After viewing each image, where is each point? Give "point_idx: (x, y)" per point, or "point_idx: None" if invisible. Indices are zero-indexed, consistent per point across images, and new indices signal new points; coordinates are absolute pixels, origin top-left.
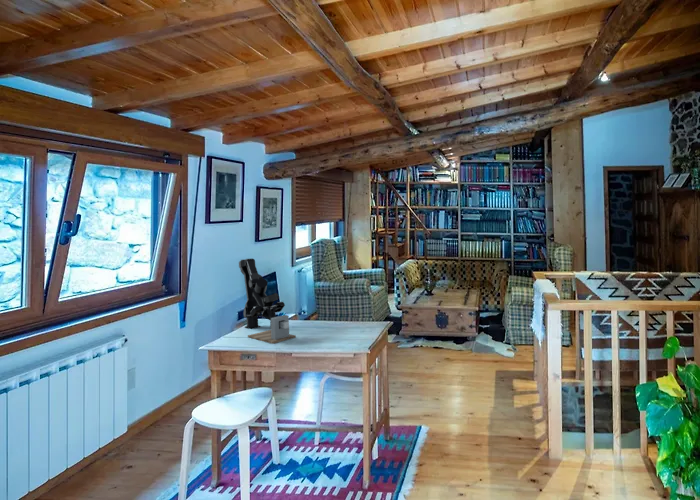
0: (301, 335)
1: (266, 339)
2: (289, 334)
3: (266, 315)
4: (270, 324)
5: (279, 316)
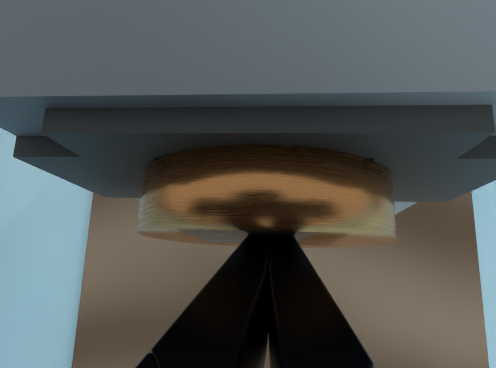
0: (8, 147)
1: (452, 249)
2: (105, 203)
3: None
4: (488, 179)
5: (214, 51)
